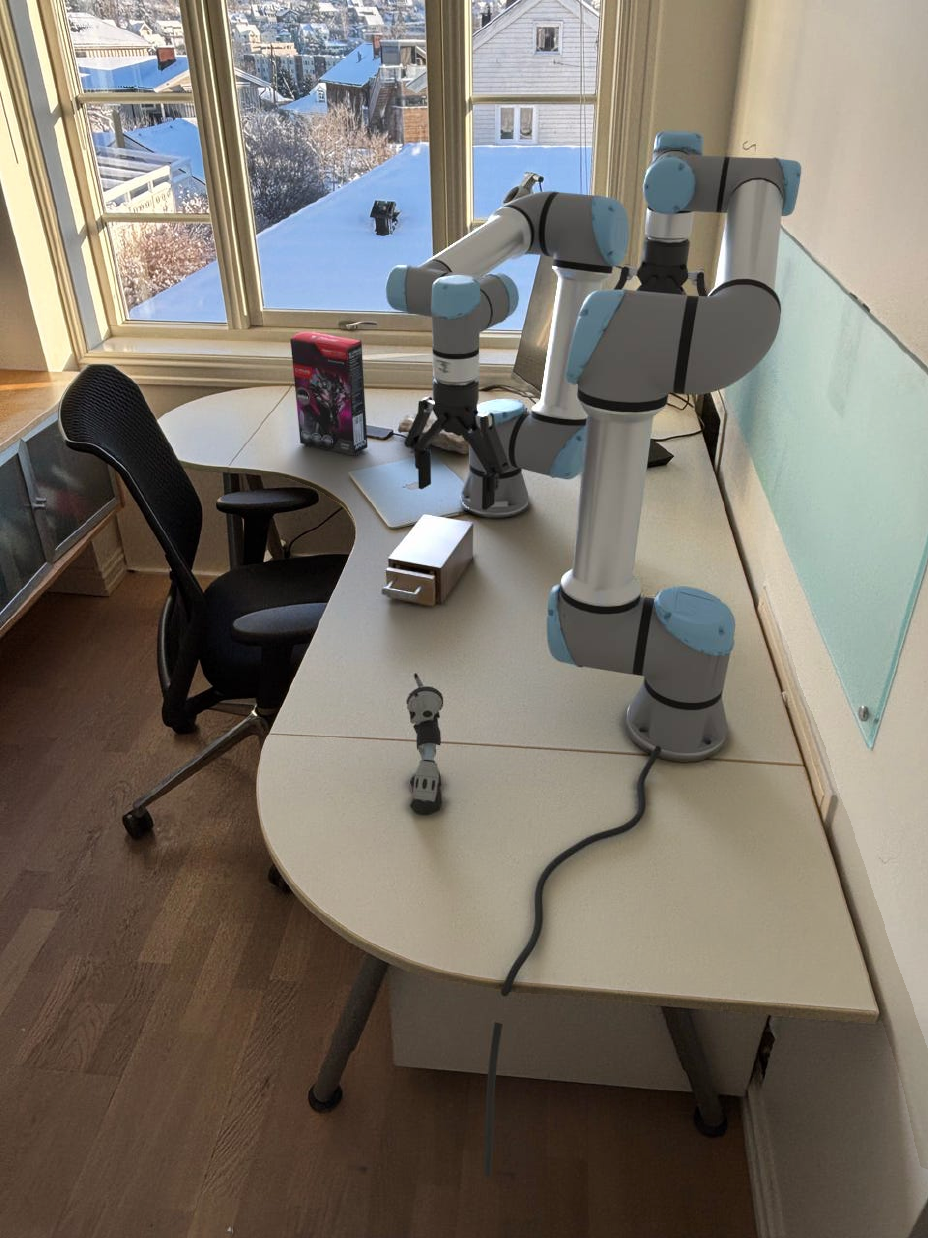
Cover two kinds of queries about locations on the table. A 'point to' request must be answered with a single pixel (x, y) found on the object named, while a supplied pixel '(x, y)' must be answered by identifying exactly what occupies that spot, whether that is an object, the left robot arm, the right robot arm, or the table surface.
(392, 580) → the drawer
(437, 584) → the cabinet
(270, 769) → the table surface
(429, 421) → the stone
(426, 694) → the robot
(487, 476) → the left robot arm
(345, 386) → the graphics card box
